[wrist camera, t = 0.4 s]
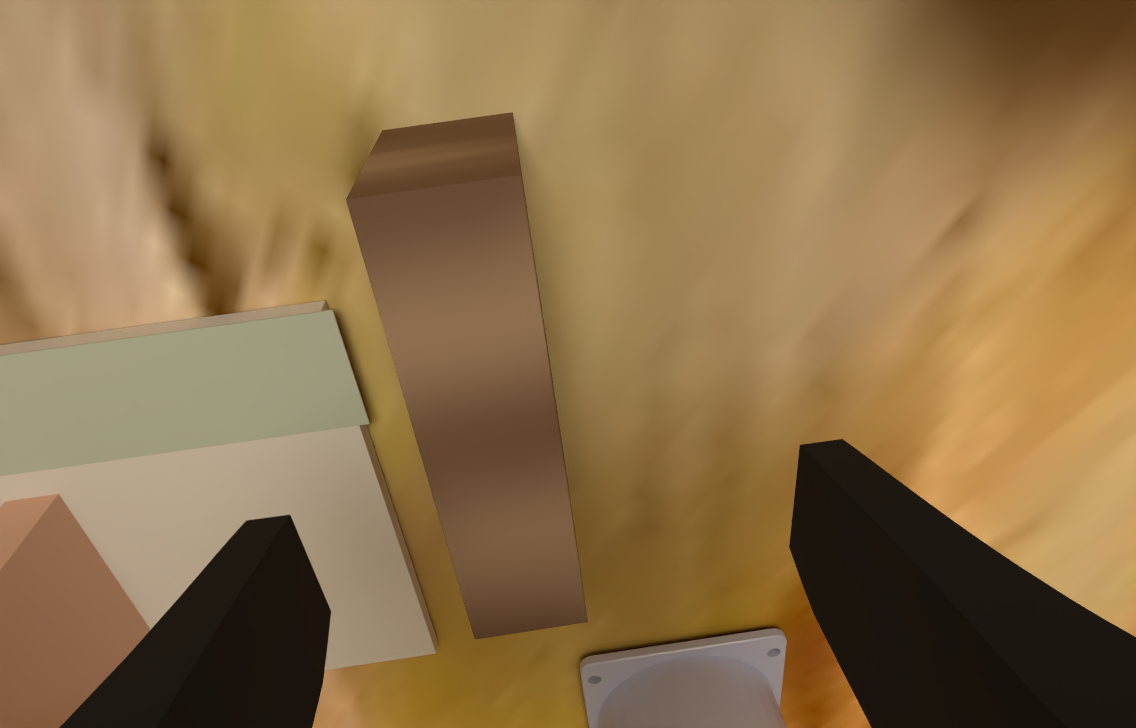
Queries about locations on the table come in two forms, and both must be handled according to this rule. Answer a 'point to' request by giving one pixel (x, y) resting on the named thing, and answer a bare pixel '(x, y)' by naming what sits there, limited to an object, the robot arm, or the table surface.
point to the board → (216, 460)
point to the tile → (56, 615)
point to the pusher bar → (474, 362)
